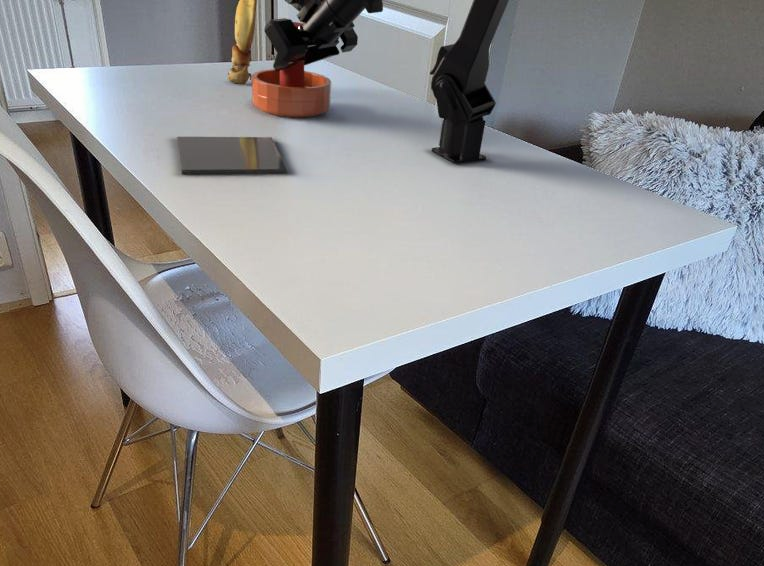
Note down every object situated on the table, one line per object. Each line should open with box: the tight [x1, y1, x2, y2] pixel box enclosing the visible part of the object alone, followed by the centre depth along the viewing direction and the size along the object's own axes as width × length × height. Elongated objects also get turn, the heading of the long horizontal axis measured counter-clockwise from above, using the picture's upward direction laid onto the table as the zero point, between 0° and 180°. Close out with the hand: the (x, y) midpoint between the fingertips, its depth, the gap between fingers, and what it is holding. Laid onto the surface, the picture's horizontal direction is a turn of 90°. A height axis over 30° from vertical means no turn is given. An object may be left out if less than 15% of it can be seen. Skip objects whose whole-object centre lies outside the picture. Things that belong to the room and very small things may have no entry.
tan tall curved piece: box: [227, 0, 258, 85], centre depth 123 cm, size 7×5×20 cm
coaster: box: [176, 136, 288, 175], centre depth 95 cm, size 14×14×1 cm
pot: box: [251, 68, 332, 118], centre depth 117 cm, size 14×14×5 cm
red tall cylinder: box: [280, 21, 305, 87], centre depth 114 cm, size 4×4×13 cm
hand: (285, 67), depth 115 cm, fingers open, 5 cm apart
